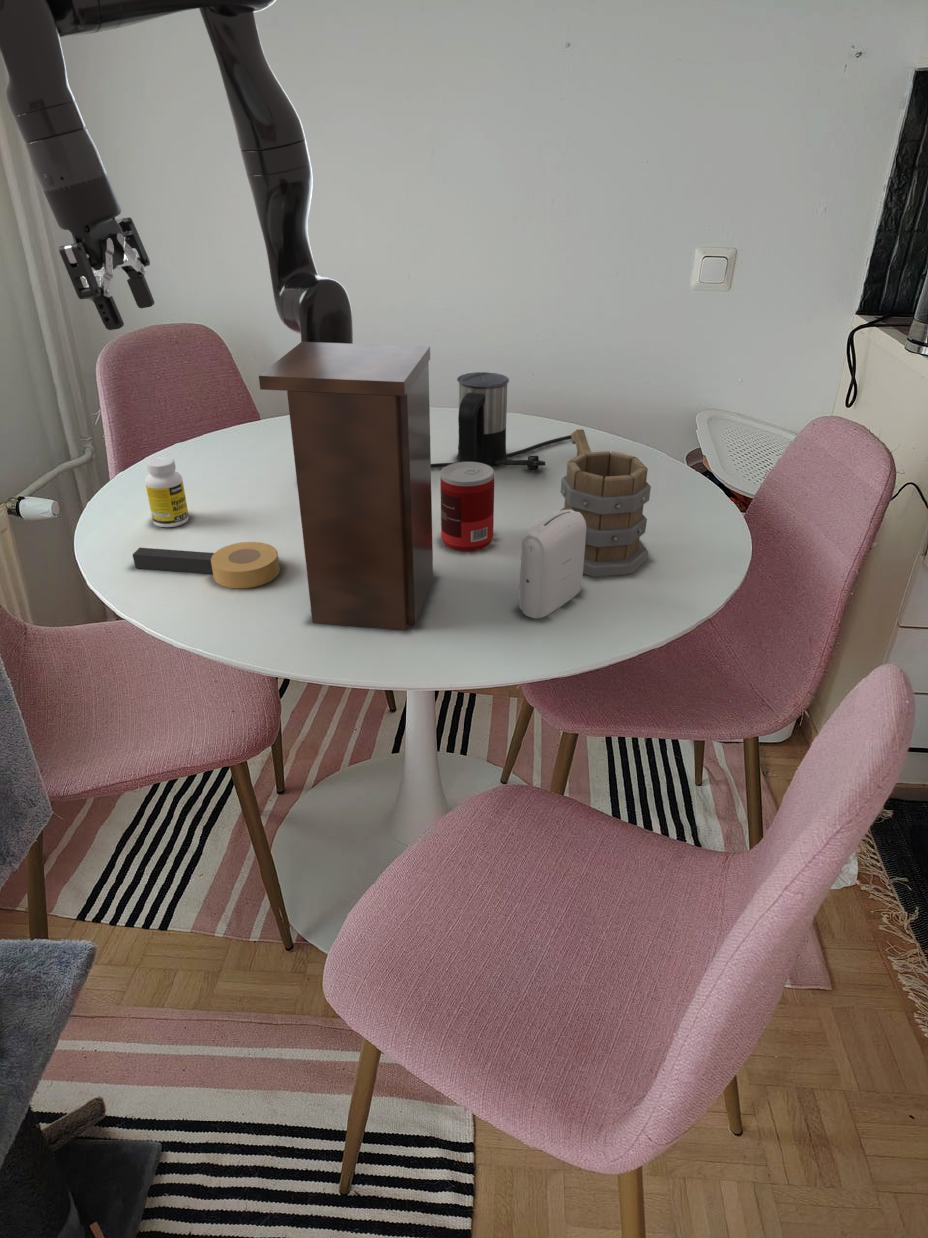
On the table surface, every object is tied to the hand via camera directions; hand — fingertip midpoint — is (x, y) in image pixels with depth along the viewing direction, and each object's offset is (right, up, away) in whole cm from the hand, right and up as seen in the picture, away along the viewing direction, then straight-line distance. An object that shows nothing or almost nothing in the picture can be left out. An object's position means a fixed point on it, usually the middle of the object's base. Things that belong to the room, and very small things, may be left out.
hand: (132, 317), depth 109 cm
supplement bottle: (-3, -23, +25) cm, 34 cm away
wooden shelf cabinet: (+29, -35, +4) cm, 46 cm away
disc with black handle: (+6, -32, +11) cm, 34 cm away
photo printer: (+54, -36, +3) cm, 65 cm away
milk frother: (+49, -11, +45) cm, 67 cm away
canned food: (+43, -27, +19) cm, 54 cm away
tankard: (+61, -28, +17) cm, 69 cm away
